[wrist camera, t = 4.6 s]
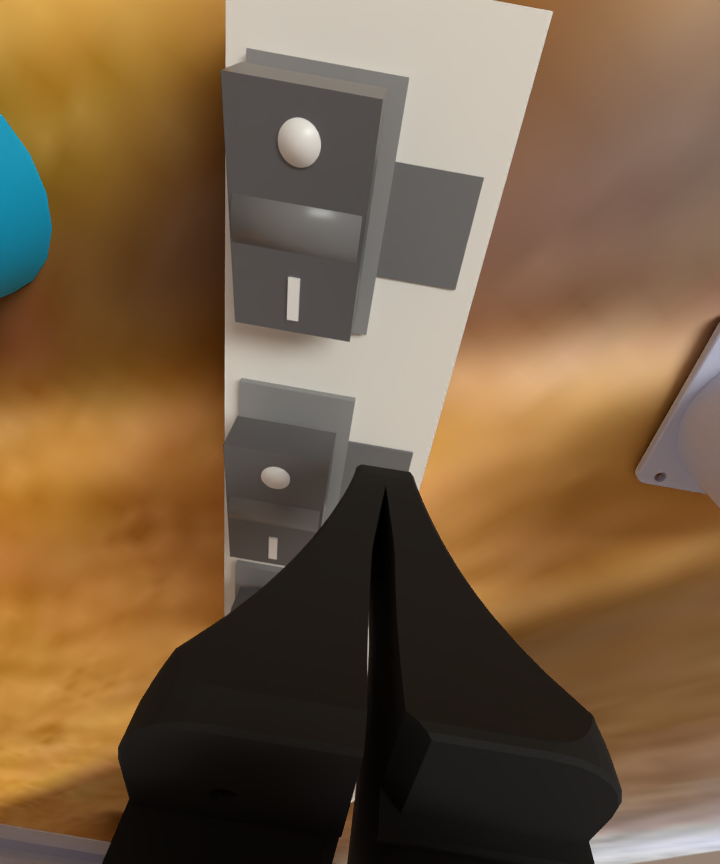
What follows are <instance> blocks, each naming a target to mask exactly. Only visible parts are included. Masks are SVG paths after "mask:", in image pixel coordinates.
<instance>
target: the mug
mask: <svg viewBox="0 0 720 864" xmlns="http://www.w3.org/2000/svg"><path fill="white" fill-rule="evenodd" d="M51 231H52V226H51V220H50V213H49V207H48V200H47V194H46V191H45V189H44V186H43V184H42V182H41V179H40V177H39V175H38V172H37V170H36V168H35V165H34V163H33V160H32V158H31V156H30V154H29V152H28V151H27V150H26V148H25V147H24V145H23V144H22V142H21V141H20V140H19V138H18V137H17V135H16V134H15V133H14V131H13V130H12V128H11V127H10V126H9V124H8V123H7V121H6V120H5V119H4V117H3V116H2V115H1V114H0V298H1V297H3V296H6V295H9V294H11V293H14V292H15V291H17V290H18V289H20V288H22V287H23V286H25V285H26V284H28V283H30V282H31V281H33V280H34V279H35V277H36V275H37V274H38V272H39V271H40V269H41V267H42V266H43V264H44V263H45V261H46V259H47V256H48V250H49V244H50V237H51Z"/></svg>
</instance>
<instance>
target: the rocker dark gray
mask: <svg viewBox="0 0 720 864" xmlns="http://www.w3.org/2000/svg"><path fill="white" fill-rule="evenodd" d="M336 434H337V433H333V432H328V431H322V430H316V429H310V428H305V427H299V426H293V425H287V424H282V423H276V422H270V421H264V420H259V419H253V418H247V417H241V416H237V418H236V420H235V422H234V424H233V426H232V428H231V430H230V432H229V434H228V436H227V438H226V440H225V442H224V444H223V449H224V466H225V482H226V499H227V515H228V532H229V548H230V557H236V558H242V559H247V560H253V561H259V562H265V563H271V564H277V565H283V566H286V565H287V564H288V563H289V562H290V561H291V560H292V559H293V558H294V557H295V556H296V555H297V554H298V553H299V552H300V551H301V550H302V549H303V548H304V547H305V545H306V544H307V543H308V542H309V541H310V540H311V539H312V537H313V536H314V535H315V534H316V532H317V531H318V530H319V529H320V527H321V526H322V525H323V524H324V518H325V511H326V504H327V497H328V490H329V483H330V476H331V469H332V462H333V455H334V448H335V441H336Z"/></svg>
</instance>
